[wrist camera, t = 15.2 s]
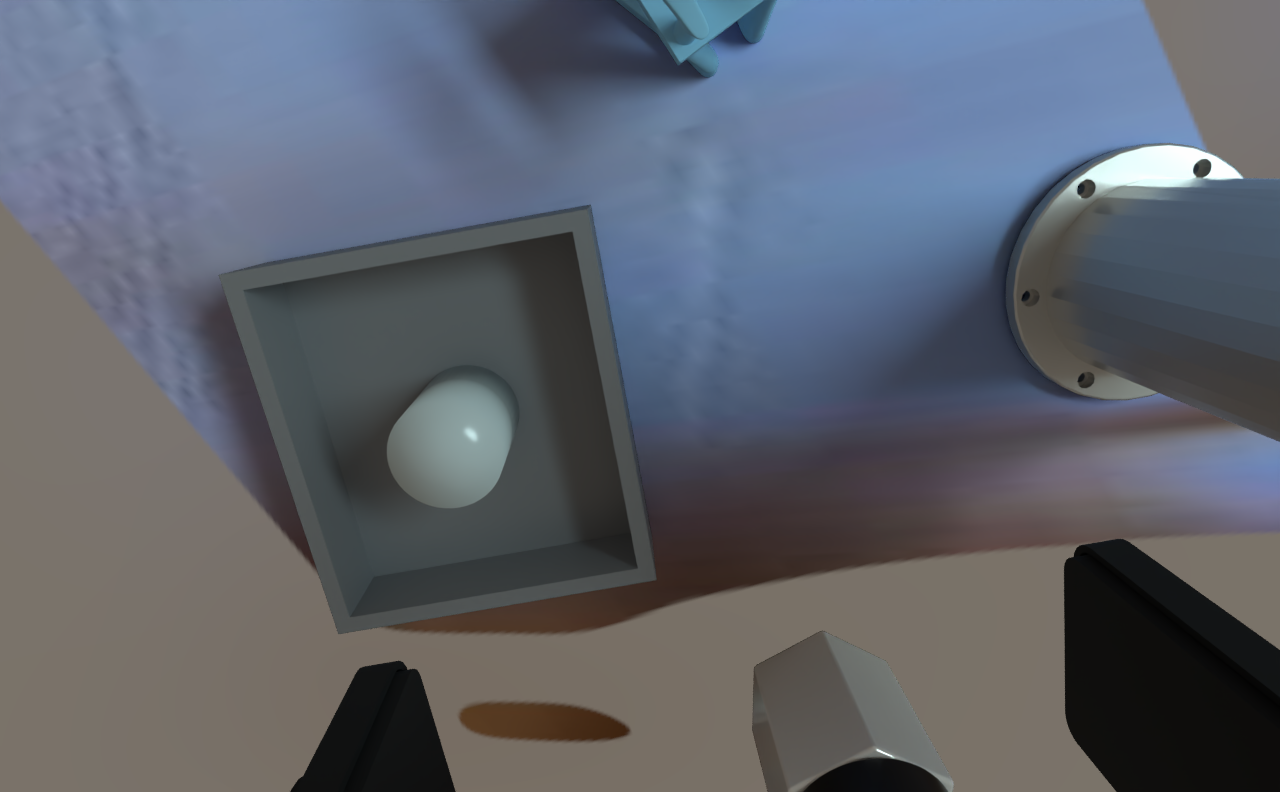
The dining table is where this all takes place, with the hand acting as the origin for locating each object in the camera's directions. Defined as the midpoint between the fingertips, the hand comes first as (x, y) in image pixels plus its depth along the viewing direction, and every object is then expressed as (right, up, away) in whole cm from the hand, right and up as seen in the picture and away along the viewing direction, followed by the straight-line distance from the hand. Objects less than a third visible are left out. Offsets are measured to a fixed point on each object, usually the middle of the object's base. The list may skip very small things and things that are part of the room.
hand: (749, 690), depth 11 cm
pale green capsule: (-10, +3, +28) cm, 30 cm away
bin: (-10, +4, +28) cm, 30 cm away
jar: (+9, -13, +34) cm, 38 cm away
